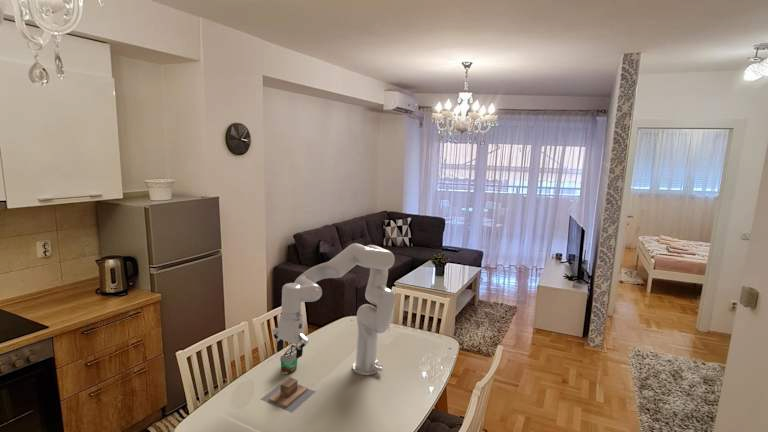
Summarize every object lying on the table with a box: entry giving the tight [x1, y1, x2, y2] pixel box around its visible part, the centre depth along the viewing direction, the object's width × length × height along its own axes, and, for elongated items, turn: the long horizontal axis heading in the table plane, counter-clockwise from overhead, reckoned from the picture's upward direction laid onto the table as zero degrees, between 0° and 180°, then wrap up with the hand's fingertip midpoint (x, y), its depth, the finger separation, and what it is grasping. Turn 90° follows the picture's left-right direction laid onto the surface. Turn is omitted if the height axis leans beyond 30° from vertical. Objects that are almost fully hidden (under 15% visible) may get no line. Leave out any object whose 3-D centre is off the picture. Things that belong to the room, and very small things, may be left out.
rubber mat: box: [260, 383, 317, 413], centre depth 169 cm, size 16×16×1 cm
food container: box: [279, 343, 299, 375], centre depth 187 cm, size 12×6×10 cm, turn 168°
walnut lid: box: [269, 376, 309, 408], centre depth 168 cm, size 9×14×6 cm, turn 155°
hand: (289, 353), depth 166 cm, fingers open, 9 cm apart
